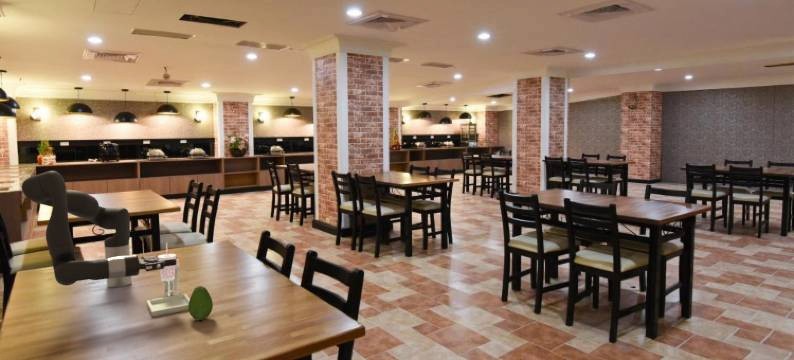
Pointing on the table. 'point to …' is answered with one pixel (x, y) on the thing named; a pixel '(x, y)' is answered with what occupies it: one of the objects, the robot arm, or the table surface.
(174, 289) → the metal tumbler
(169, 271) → the beverage cup
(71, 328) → the table surface
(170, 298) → the tray
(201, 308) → the avocado
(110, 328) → the table surface
